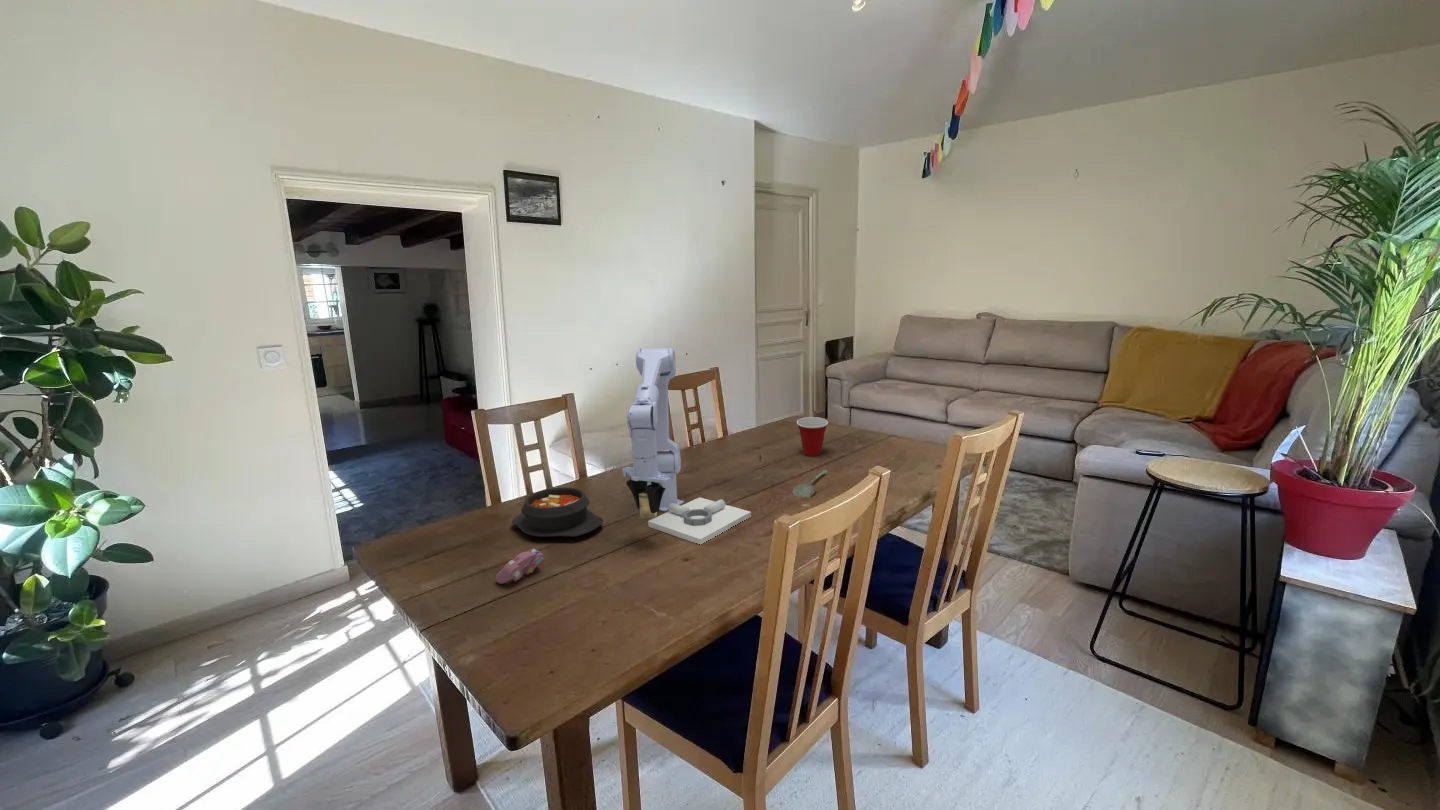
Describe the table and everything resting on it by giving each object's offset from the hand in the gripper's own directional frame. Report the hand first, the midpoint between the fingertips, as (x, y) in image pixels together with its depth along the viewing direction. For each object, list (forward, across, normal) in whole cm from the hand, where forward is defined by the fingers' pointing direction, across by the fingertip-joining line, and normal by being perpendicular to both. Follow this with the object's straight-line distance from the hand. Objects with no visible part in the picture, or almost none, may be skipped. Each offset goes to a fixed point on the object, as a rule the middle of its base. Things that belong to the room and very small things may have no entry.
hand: (648, 509), depth 142 cm
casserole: (+9, -26, -8) cm, 29 cm away
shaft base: (+8, +2, +16) cm, 18 cm away
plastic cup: (+9, -4, +82) cm, 82 cm away
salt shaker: (+2, 0, 0) cm, 2 cm away
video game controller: (+9, -11, -28) cm, 31 cm away
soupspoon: (+9, +12, +56) cm, 58 cm away
